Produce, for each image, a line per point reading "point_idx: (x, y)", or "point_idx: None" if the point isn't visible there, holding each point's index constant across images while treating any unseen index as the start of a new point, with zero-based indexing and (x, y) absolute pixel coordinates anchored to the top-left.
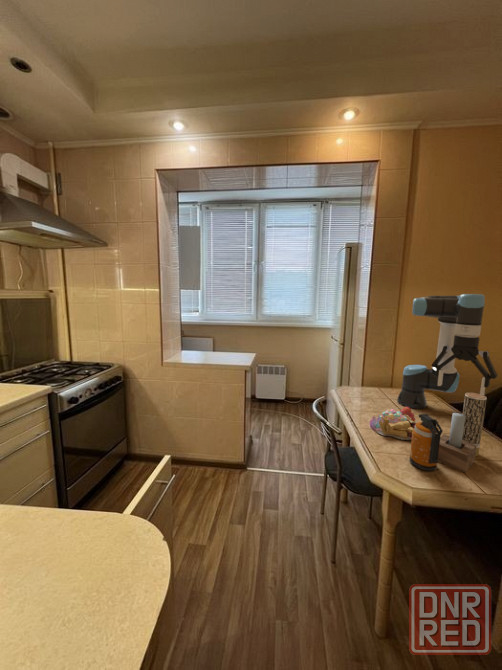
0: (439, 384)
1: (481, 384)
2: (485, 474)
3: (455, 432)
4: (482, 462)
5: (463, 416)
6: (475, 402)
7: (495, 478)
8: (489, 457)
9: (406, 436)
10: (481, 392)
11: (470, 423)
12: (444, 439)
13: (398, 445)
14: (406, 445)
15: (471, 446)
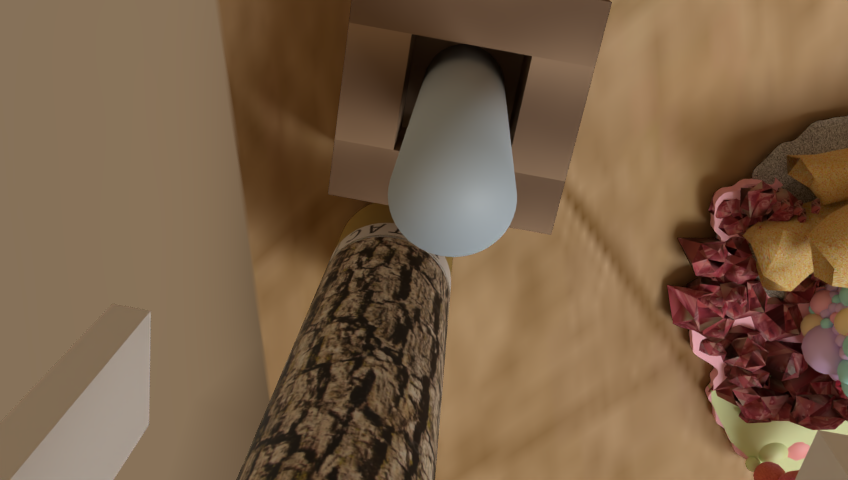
0: (837, 451)
1: (22, 461)
2: (276, 22)
3: (463, 86)
4: (310, 177)
5: (403, 190)
6: (305, 467)
7: (223, 14)
8: (287, 273)
9: (802, 157)
10: (98, 343)
11: (367, 317)
12: (540, 128)
13: (842, 15)
14: (781, 62)
15: (354, 145)
